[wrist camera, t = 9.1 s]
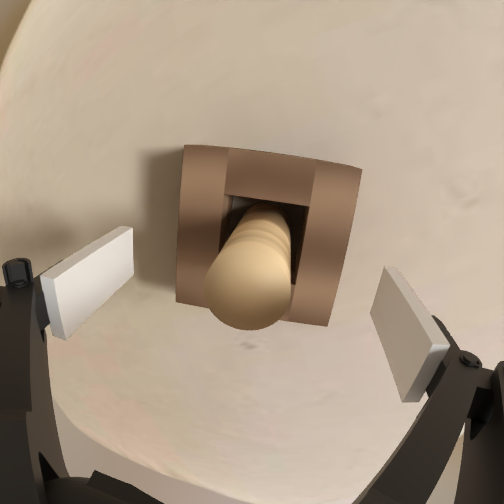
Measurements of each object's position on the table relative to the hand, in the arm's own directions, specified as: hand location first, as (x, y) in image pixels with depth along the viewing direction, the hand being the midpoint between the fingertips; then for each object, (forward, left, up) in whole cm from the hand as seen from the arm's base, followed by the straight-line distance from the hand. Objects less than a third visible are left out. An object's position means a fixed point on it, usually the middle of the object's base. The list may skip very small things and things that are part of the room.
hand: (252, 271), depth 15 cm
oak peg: (0, 0, -10) cm, 11 cm away
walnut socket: (0, 0, -10) cm, 10 cm away
